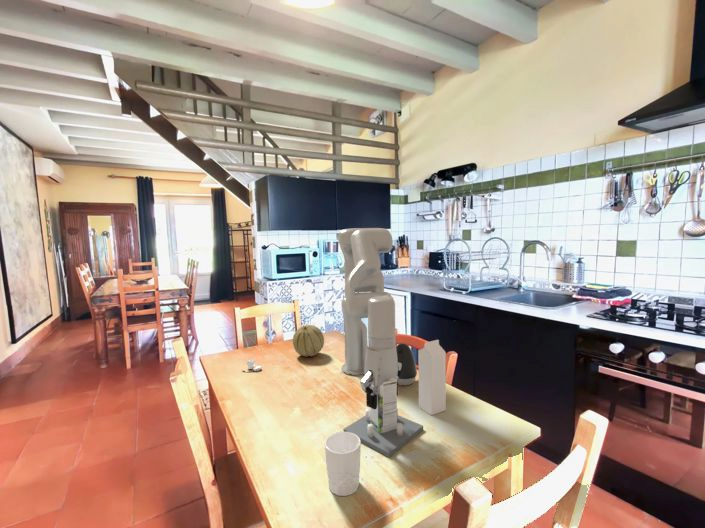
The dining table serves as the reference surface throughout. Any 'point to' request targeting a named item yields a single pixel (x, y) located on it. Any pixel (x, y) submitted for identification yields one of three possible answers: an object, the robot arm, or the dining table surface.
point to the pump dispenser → (406, 364)
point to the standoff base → (384, 434)
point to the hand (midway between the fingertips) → (382, 400)
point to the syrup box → (385, 407)
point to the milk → (432, 378)
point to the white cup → (343, 462)
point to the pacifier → (251, 365)
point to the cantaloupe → (308, 340)
